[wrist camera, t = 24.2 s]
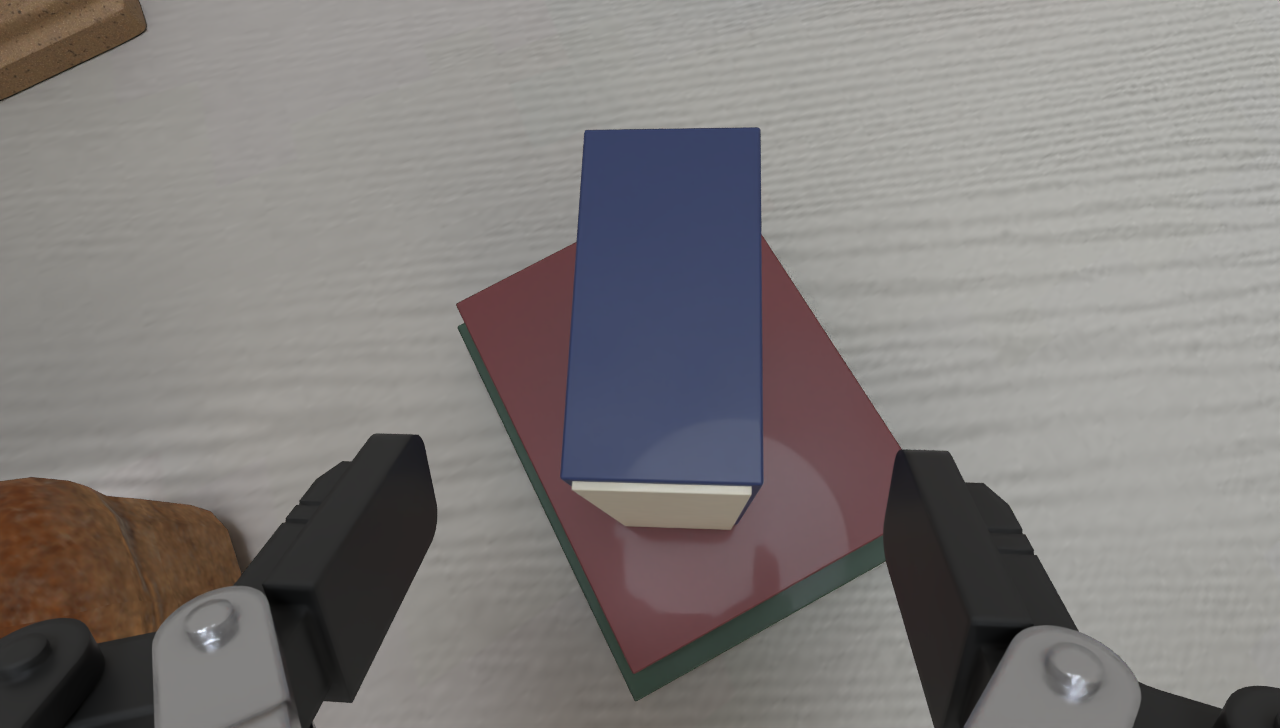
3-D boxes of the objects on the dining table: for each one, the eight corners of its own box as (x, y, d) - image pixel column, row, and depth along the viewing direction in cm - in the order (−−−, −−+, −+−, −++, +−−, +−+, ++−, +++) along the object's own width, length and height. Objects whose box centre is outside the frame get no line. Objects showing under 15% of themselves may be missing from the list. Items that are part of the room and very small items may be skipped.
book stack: (918, 535, 32) (965, 525, 26) (641, 690, 31) (627, 716, 26) (718, 220, 37) (721, 155, 32) (476, 346, 36) (433, 302, 31)
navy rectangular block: (738, 301, 30) (760, 125, 18) (737, 530, 27) (764, 494, 16) (629, 300, 30) (583, 128, 19) (618, 526, 27) (558, 488, 16)
